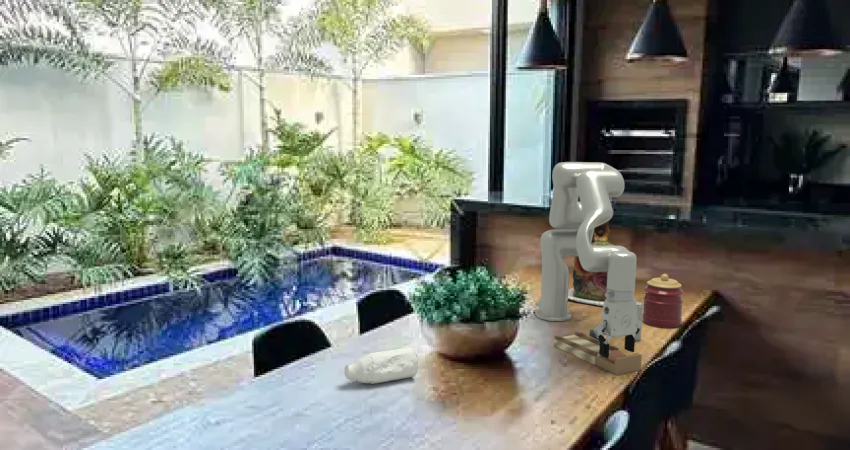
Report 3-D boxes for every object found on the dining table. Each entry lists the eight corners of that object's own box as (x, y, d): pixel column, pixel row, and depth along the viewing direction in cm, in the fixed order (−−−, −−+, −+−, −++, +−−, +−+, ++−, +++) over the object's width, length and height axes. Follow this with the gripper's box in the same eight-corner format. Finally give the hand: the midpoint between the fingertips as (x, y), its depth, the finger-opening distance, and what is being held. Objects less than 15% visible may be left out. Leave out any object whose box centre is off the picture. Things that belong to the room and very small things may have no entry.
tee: (580, 338, 209) (580, 329, 208) (594, 335, 211) (594, 326, 211) (593, 343, 203) (593, 334, 203) (607, 341, 206) (608, 332, 206)
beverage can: (641, 341, 206) (643, 305, 204) (625, 340, 207) (628, 304, 205) (639, 337, 211) (641, 301, 209) (624, 336, 211) (626, 300, 210)
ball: (615, 369, 181) (616, 354, 180) (604, 363, 185) (605, 349, 184) (627, 366, 183) (628, 351, 182) (616, 361, 187) (617, 346, 186)
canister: (640, 325, 223) (644, 275, 220) (643, 315, 235) (646, 268, 232) (681, 330, 218) (684, 279, 216) (681, 320, 230) (685, 271, 227)
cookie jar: (577, 287, 276) (581, 213, 271) (635, 296, 262) (640, 218, 257) (553, 299, 256) (557, 219, 252) (614, 310, 242) (619, 225, 237)
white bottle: (341, 382, 171) (340, 353, 170) (406, 370, 179) (406, 343, 178) (351, 393, 164) (350, 363, 163) (418, 380, 172) (418, 352, 171)
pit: (594, 364, 185) (595, 349, 185) (617, 359, 189) (618, 345, 189) (617, 375, 178) (618, 359, 177) (640, 369, 182) (641, 354, 181)
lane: (553, 345, 201) (554, 334, 200) (576, 341, 205) (576, 330, 205) (594, 364, 185) (595, 352, 185) (617, 359, 189) (618, 348, 189)
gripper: (606, 301, 174) (603, 362, 176) (652, 294, 182) (648, 352, 184) (587, 295, 180) (584, 354, 183) (632, 288, 188) (629, 345, 191)
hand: (616, 353), depth 183 cm, fingers open, 9 cm apart
